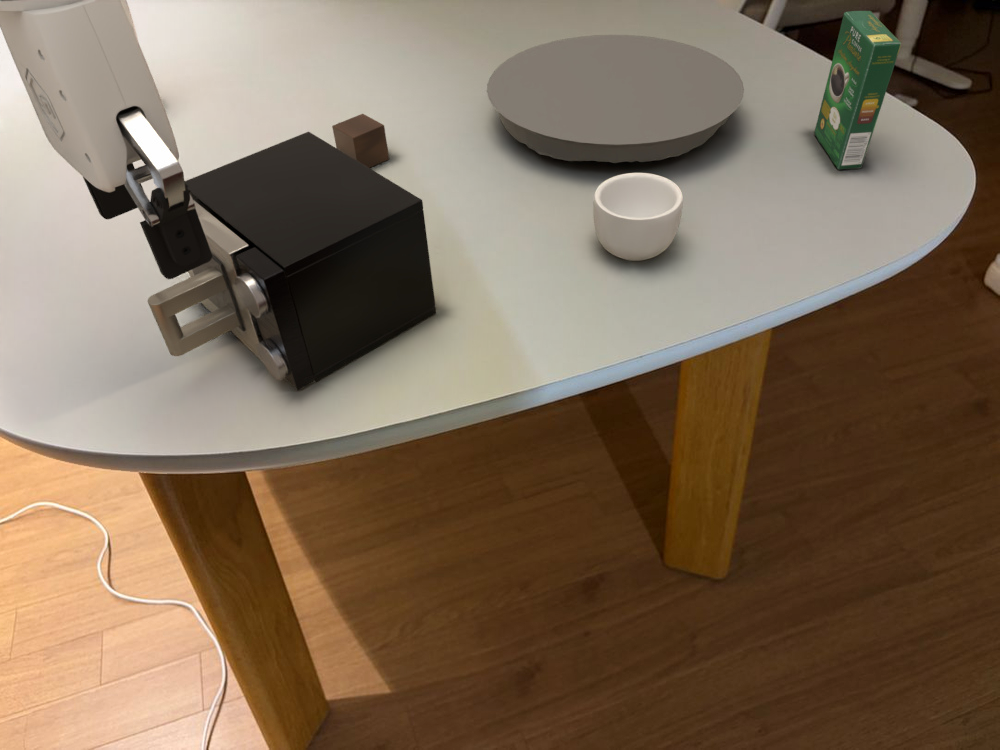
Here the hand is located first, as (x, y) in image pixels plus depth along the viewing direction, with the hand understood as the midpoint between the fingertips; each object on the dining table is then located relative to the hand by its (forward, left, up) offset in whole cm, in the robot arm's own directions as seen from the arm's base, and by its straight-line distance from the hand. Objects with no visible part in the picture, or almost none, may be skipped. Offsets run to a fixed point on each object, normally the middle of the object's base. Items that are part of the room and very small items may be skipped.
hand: (155, 238), depth 53 cm
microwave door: (+2, +5, -14) cm, 15 cm away
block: (+29, +21, -14) cm, 38 cm away
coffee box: (+65, -14, -14) cm, 68 cm away
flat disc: (+54, +8, -14) cm, 56 cm away
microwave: (+11, +3, -14) cm, 18 cm away
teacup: (+38, -10, -14) cm, 42 cm away
